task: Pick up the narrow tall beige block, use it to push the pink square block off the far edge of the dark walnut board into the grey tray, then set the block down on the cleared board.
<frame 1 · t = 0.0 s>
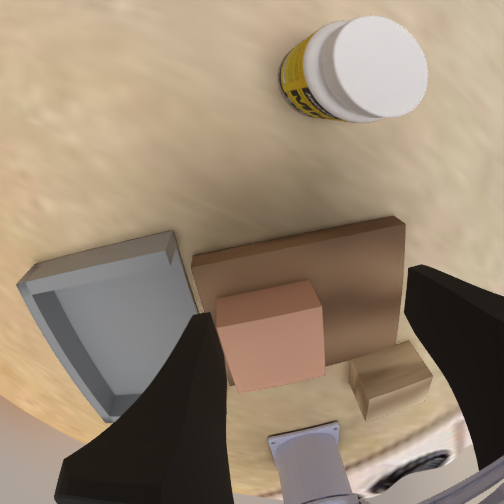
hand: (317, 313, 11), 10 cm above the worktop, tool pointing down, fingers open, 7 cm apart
supplement bottle: (316, 81, 17), on the worktop
tray: (138, 334, 23), on the worktop
tall beige block: (379, 362, 27), on the worktop
pink square block: (269, 325, 21), point 2 cm above the worktop, touching board
board: (307, 303, 23), on the worktop
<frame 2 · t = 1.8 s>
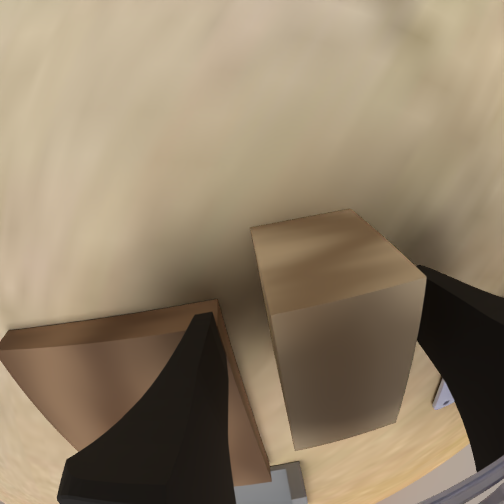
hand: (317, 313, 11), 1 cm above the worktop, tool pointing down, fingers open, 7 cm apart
tray: (213, 496, 20), on the worktop
tall beige block: (309, 289, 12), on the worktop
board: (150, 418, 15), on the worktop
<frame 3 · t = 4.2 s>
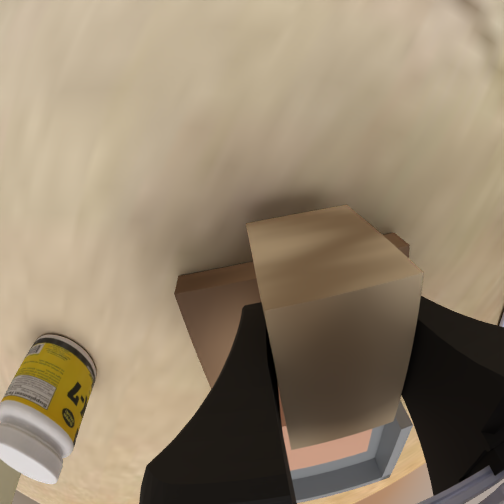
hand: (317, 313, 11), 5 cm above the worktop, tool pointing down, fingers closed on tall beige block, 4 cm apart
supplement bottle: (66, 358, 17), on the worktop
tray: (312, 451, 24), on the worktop
tall beige block: (306, 287, 12), point 3 cm above the worktop, touching gripper
pink square block: (312, 405, 18), point 2 cm above the worktop, touching board
board: (303, 357, 18), on the worktop
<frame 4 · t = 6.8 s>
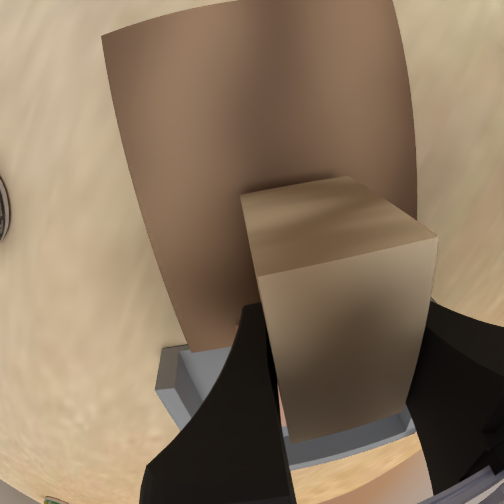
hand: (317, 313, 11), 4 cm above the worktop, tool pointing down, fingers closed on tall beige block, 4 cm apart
tray: (307, 385, 18), on the worktop
tall beige block: (305, 265, 11), point 3 cm above the worktop, touching gripper
supplement bottle 2: (60, 502, 30), on the worktop
board: (280, 173, 13), on the worktop
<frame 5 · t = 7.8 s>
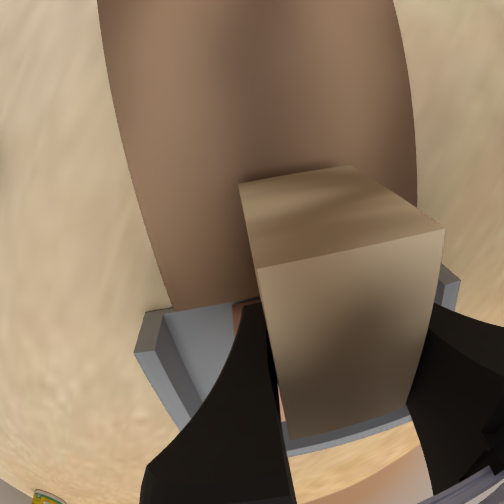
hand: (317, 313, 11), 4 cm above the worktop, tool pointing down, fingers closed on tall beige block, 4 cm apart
tray: (304, 359, 17), on the worktop
tall beige block: (305, 257, 11), point 3 cm above the worktop, touching gripper, pink square block
pink square block: (301, 337, 16), point 1 cm above the worktop, touching tall beige block, tray
supplement bottle 2: (50, 495, 29), on the worktop
board: (270, 114, 12), on the worktop
when the fingers open (4 cm above the worktop, at t = 9.7 s): tall beige block drops 1 cm, resting on board.
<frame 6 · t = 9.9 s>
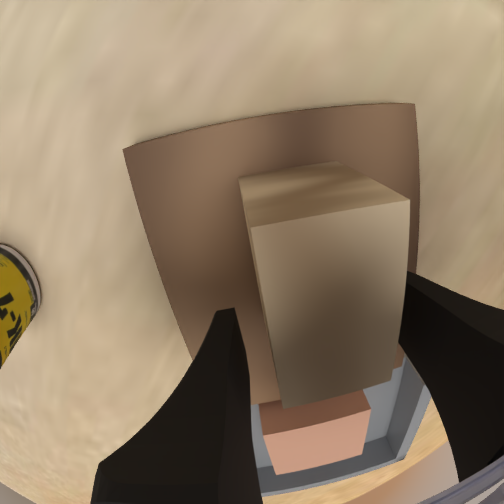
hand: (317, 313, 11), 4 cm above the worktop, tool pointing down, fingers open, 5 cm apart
supplement bottle: (11, 279, 13), on the worktop
tray: (310, 424, 20), on the worktop
tall beige block: (298, 244, 12), point 2 cm above the worktop, touching board
pink square block: (309, 411, 19), resting on tray
board: (295, 271, 14), on the worktop
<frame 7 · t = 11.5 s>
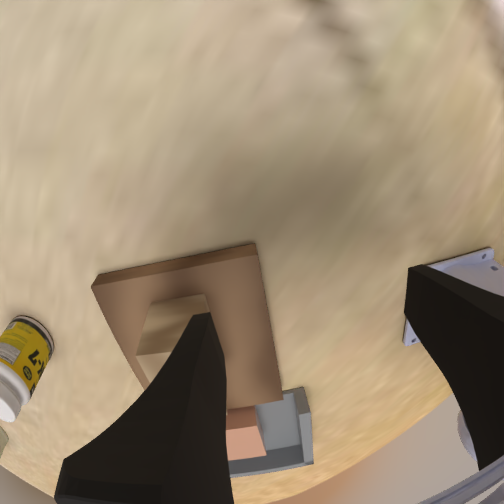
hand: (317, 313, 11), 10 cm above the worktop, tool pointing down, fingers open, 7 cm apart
supplement bottle: (33, 334, 22), on the worktop
tray: (234, 429, 29), on the worktop
tall beige block: (189, 334, 21), point 2 cm above the worktop, touching board
pink square block: (228, 421, 27), resting on tray
board: (198, 341, 23), on the worktop
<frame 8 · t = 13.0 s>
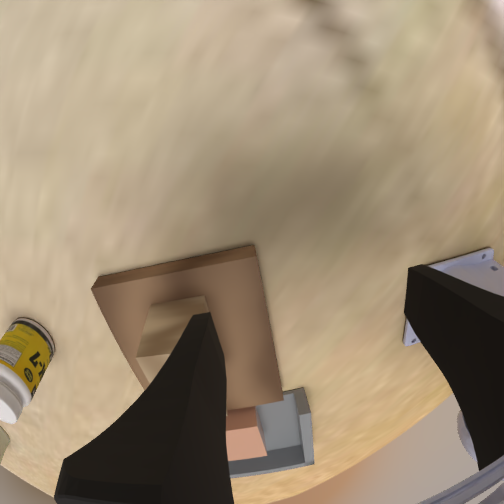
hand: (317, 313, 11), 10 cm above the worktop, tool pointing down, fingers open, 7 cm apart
supplement bottle: (34, 336, 22), on the worktop
tray: (234, 430, 29), on the worktop
tall beige block: (189, 335, 21), point 2 cm above the worktop, touching board
pink square block: (228, 422, 27), resting on tray
board: (198, 342, 23), on the worktop
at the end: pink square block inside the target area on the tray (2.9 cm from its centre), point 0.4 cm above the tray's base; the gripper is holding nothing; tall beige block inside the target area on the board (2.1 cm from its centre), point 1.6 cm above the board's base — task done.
